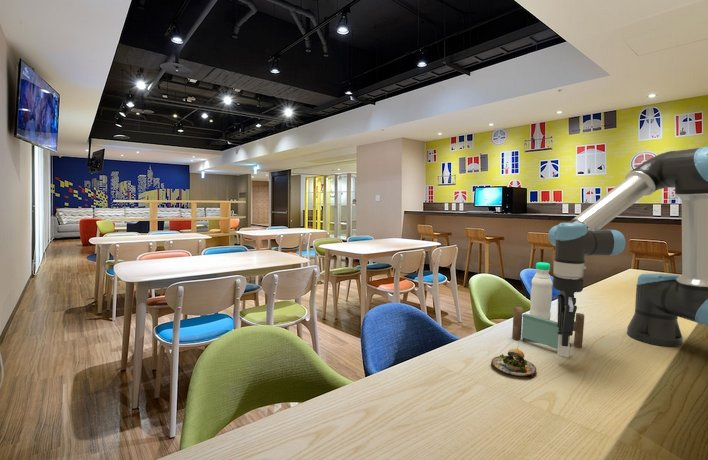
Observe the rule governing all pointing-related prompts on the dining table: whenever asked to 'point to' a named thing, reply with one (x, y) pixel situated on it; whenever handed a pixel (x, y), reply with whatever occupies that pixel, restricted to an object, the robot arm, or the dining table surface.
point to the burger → (514, 364)
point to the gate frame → (517, 336)
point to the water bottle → (541, 292)
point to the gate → (540, 330)
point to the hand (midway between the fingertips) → (563, 355)
